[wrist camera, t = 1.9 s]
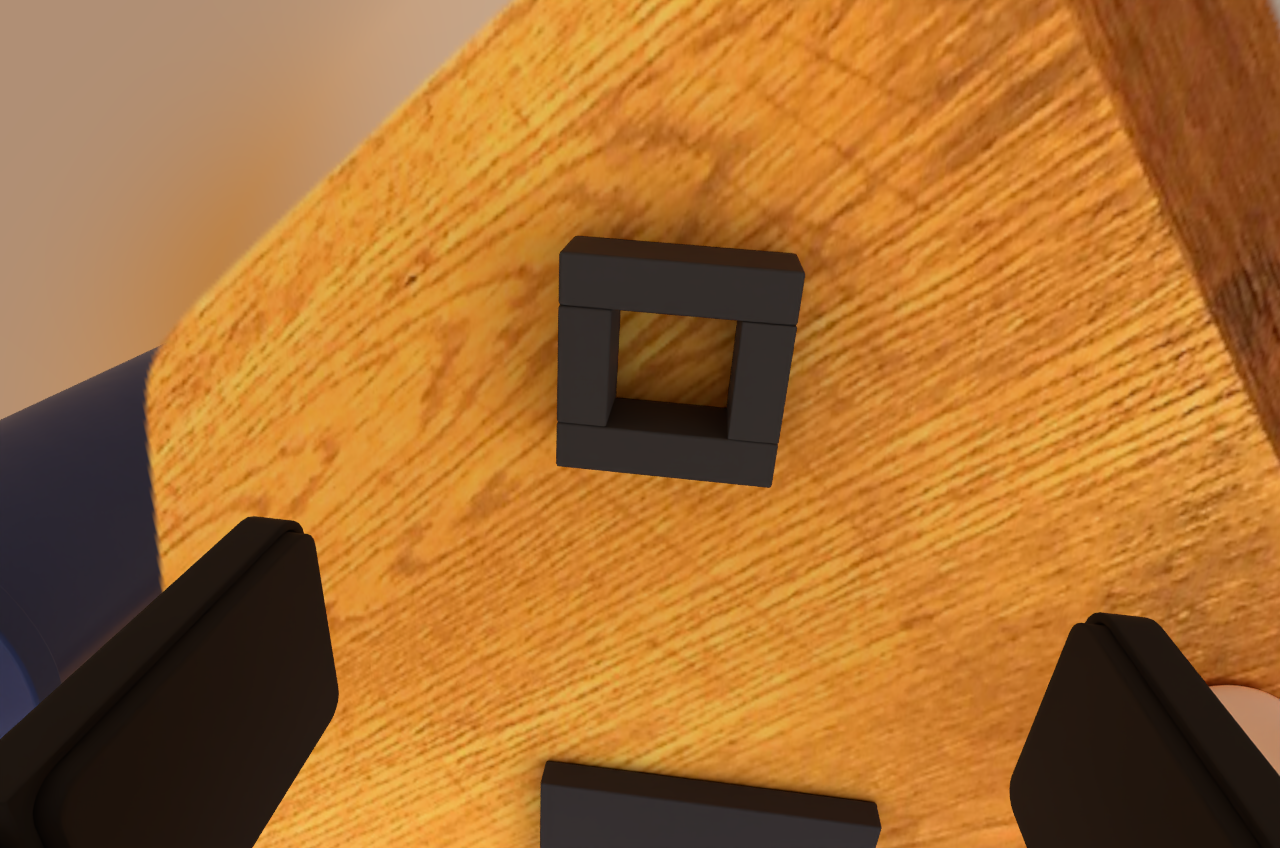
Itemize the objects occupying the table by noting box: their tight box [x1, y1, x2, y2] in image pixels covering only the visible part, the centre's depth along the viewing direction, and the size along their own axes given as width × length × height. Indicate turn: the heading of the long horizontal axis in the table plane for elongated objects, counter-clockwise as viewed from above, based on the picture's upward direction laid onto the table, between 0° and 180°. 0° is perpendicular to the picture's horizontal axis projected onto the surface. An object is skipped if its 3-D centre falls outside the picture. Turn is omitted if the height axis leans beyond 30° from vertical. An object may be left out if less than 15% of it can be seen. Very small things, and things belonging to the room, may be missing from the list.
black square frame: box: [556, 236, 805, 488], centre depth 22 cm, size 7×7×2 cm
